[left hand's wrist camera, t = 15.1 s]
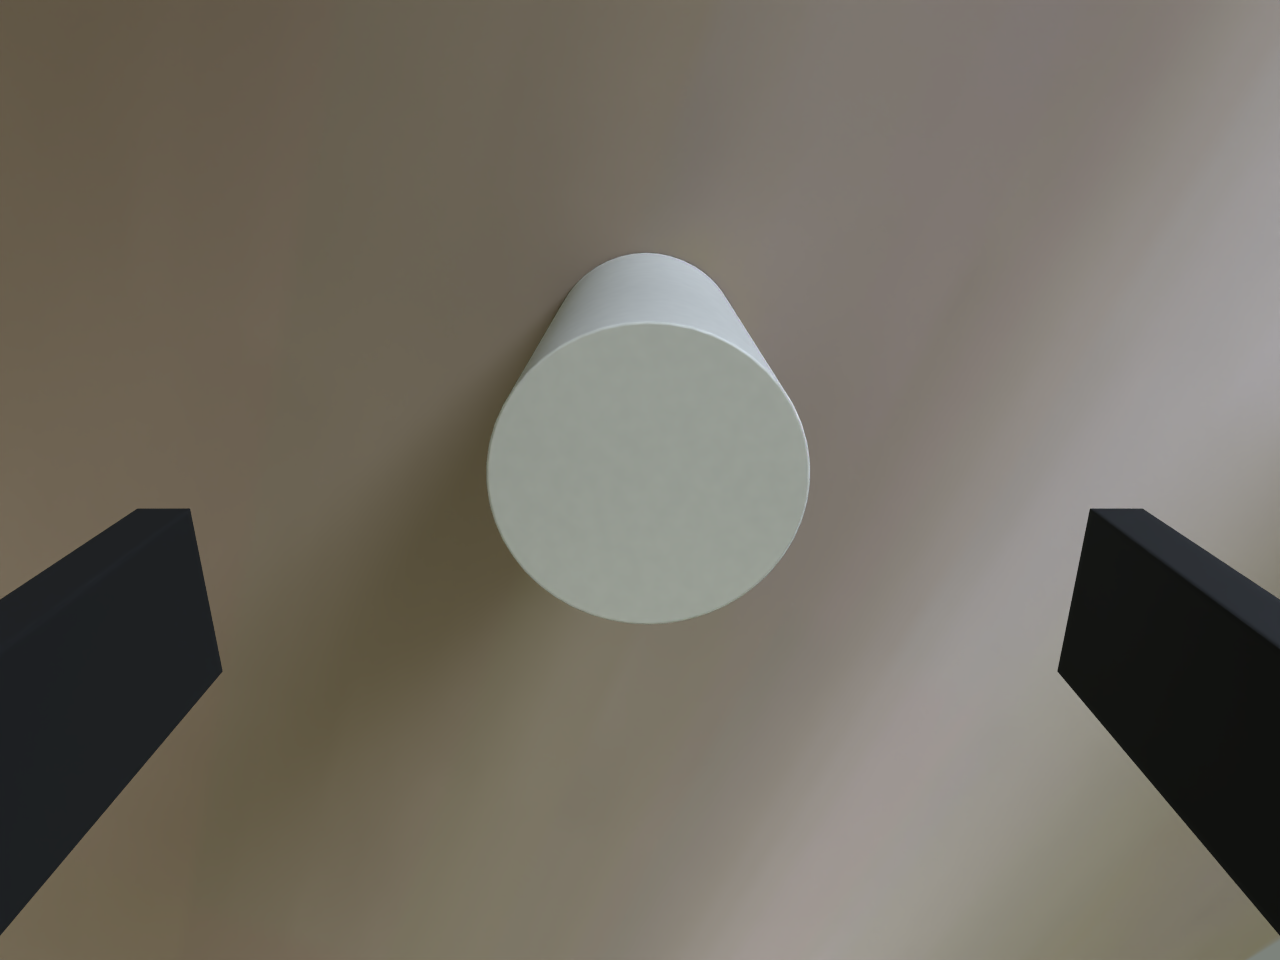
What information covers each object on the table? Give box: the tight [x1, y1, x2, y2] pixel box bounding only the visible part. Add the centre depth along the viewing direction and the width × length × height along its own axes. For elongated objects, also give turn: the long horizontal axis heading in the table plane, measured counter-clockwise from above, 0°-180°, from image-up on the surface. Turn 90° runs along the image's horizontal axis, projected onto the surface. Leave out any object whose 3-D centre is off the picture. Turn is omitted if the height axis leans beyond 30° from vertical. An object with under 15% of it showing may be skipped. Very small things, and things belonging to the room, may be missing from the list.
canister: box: [486, 253, 810, 624], centre depth 22 cm, size 6×6×13 cm
